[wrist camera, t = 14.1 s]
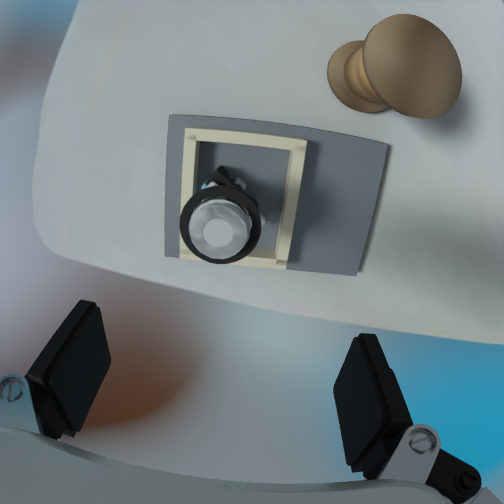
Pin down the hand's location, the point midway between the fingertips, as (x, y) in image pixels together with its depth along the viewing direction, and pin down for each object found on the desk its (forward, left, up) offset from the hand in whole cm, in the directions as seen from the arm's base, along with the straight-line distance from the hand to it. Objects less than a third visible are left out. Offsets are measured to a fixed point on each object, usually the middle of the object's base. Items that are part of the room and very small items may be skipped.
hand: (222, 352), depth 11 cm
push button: (+1, 0, -20) cm, 20 cm away
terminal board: (-3, 0, -21) cm, 21 cm away
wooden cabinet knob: (-10, -13, -21) cm, 26 cm away
